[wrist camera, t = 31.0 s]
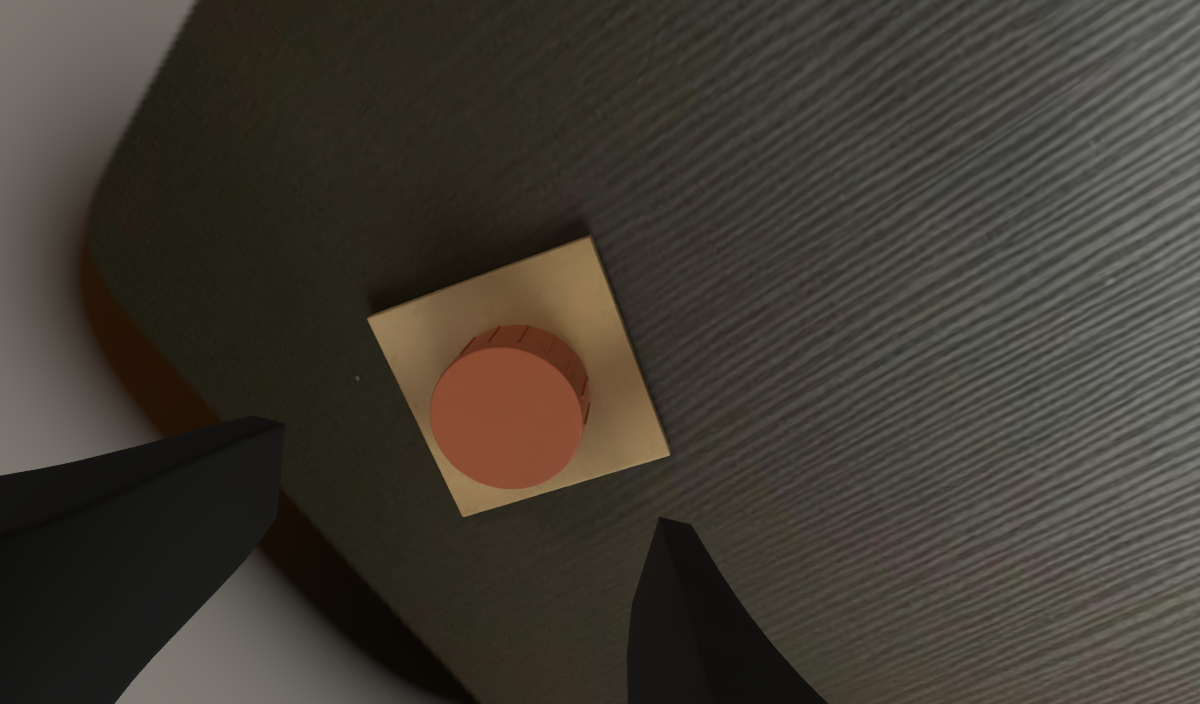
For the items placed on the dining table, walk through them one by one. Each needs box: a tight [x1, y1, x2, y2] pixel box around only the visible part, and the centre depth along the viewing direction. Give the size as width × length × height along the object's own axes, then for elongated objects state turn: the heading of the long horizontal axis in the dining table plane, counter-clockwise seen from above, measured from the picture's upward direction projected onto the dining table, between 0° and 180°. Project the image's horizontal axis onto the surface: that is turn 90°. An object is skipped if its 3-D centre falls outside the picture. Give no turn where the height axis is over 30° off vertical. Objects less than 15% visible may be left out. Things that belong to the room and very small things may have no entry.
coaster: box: [367, 235, 670, 517], centre depth 22 cm, size 8×8×1 cm
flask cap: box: [430, 324, 591, 489], centre depth 20 cm, size 4×4×2 cm
